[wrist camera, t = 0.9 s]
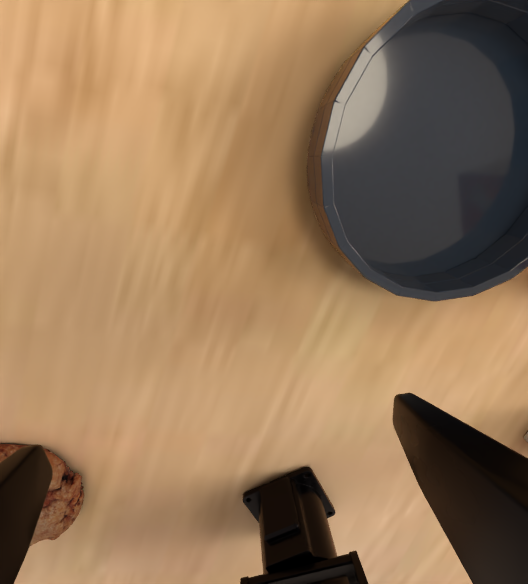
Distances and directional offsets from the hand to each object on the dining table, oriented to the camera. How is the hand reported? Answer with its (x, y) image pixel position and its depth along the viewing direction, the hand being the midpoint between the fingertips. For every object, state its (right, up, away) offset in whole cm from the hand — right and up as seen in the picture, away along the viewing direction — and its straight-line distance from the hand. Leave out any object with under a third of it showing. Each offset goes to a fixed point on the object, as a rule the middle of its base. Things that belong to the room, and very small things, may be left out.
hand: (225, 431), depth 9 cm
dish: (+11, +11, +12) cm, 20 cm away
